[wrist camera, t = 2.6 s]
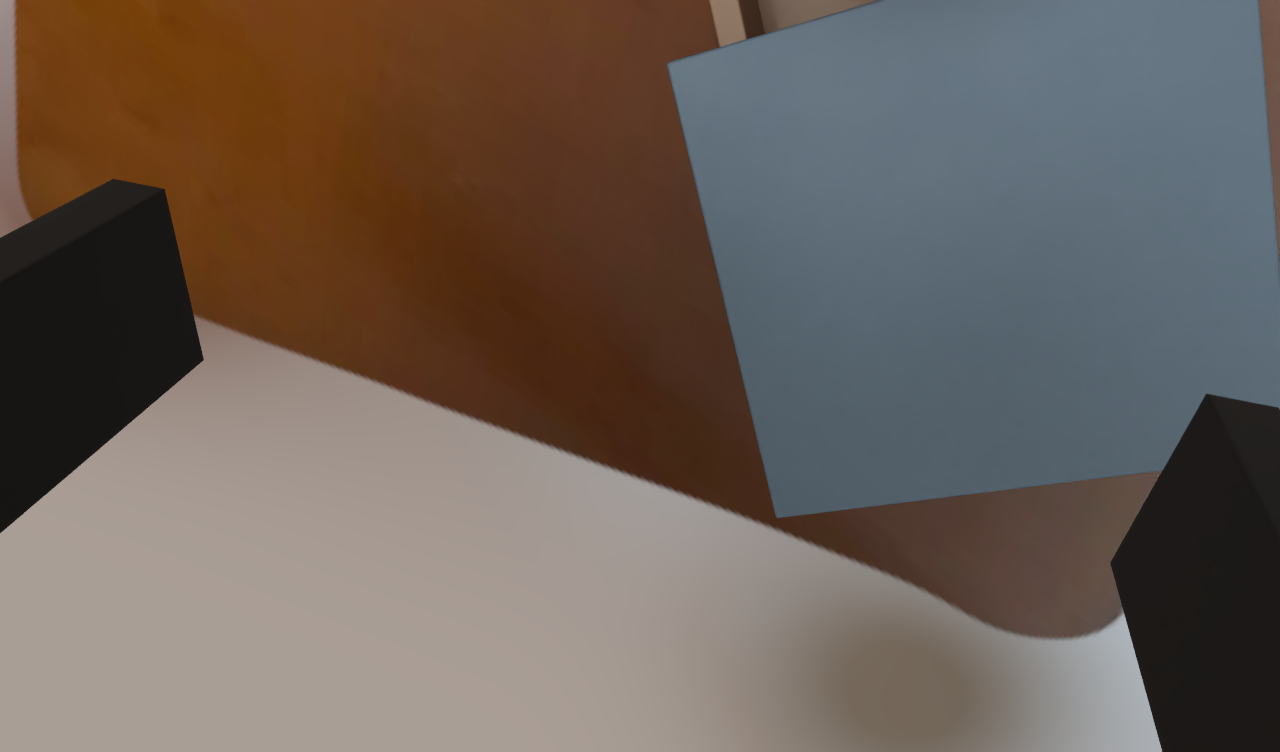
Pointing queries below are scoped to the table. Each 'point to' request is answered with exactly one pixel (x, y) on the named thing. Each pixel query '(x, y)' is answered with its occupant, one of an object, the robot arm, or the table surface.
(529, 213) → the table surface
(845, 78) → the cabinet
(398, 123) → the table surface
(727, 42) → the drawer
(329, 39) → the table surface
